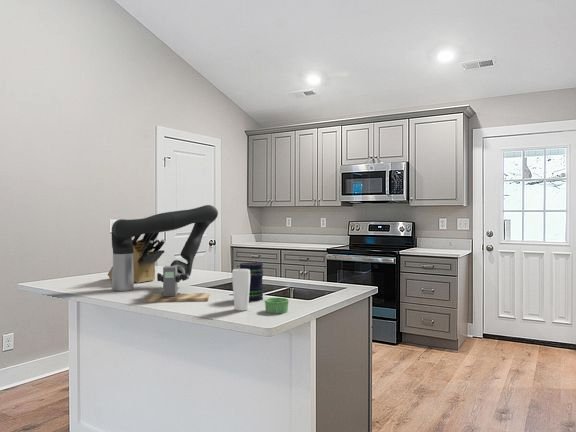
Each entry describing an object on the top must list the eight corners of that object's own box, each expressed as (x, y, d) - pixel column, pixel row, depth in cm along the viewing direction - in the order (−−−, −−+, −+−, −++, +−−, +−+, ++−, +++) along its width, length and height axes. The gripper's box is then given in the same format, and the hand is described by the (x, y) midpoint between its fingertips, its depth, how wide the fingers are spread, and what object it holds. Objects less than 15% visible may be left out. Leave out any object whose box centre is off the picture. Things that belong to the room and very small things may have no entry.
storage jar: (254, 302, 185) (254, 265, 185) (234, 300, 190) (234, 264, 190) (267, 298, 194) (267, 263, 193) (248, 296, 198) (248, 262, 198)
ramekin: (259, 312, 167) (259, 300, 167) (273, 308, 175) (273, 296, 175) (280, 315, 162) (280, 303, 162) (293, 310, 170) (293, 298, 170)
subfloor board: (145, 302, 186) (145, 298, 186) (151, 296, 198) (151, 293, 198) (207, 301, 188) (207, 297, 188) (209, 295, 200) (209, 292, 200)
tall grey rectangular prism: (163, 296, 190) (163, 267, 189) (165, 294, 195) (165, 266, 195) (175, 296, 190) (175, 267, 190) (177, 294, 195) (177, 266, 195)
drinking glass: (236, 312, 167) (236, 271, 167) (229, 308, 173) (229, 269, 173) (253, 310, 170) (253, 270, 170) (246, 307, 176) (246, 268, 176)
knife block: (149, 285, 229) (149, 223, 229) (107, 279, 249) (106, 222, 248) (167, 282, 239) (166, 223, 238) (124, 277, 258) (124, 222, 258)
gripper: (159, 265, 206) (151, 270, 189) (191, 265, 207) (186, 270, 190) (159, 282, 206) (151, 288, 189) (191, 281, 207) (186, 288, 190)
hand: (169, 279), depth 190 cm, fingers open, 5 cm apart
